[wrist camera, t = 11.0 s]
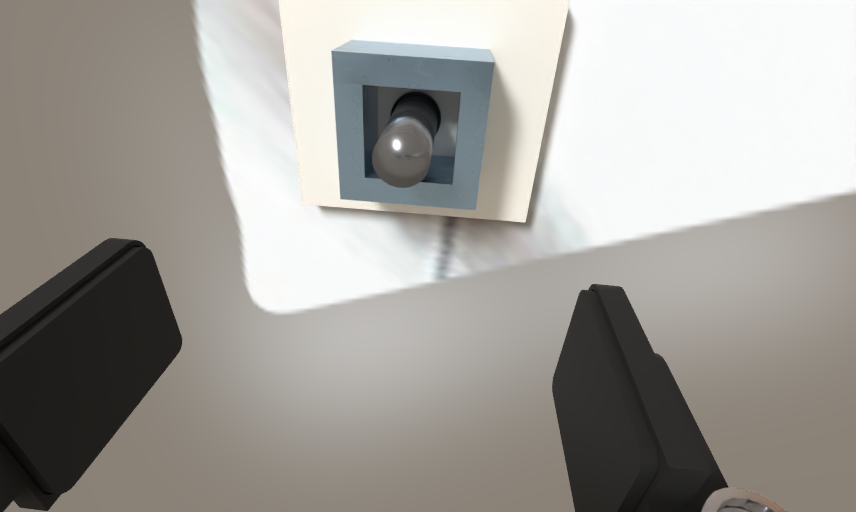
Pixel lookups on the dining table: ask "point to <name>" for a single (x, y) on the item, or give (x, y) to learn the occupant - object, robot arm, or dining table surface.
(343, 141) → the collar
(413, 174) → the steel post
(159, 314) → the robot arm
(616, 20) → the dining table surface
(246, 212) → the dining table surface
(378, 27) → the base plate
